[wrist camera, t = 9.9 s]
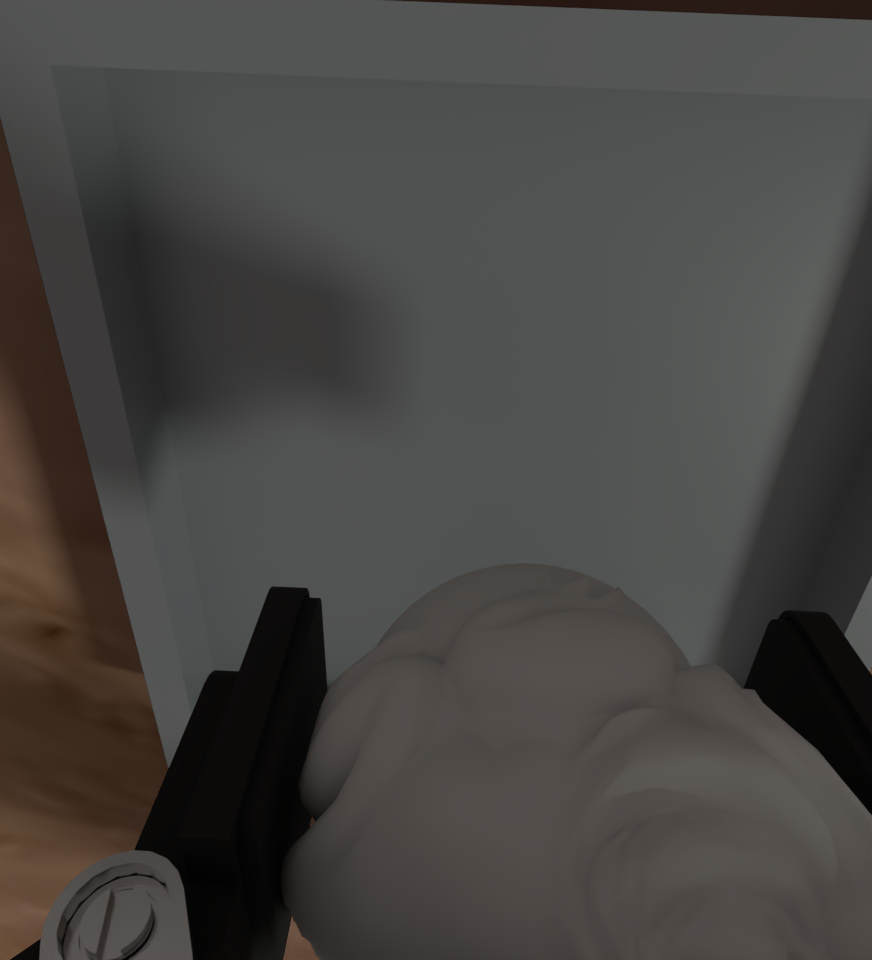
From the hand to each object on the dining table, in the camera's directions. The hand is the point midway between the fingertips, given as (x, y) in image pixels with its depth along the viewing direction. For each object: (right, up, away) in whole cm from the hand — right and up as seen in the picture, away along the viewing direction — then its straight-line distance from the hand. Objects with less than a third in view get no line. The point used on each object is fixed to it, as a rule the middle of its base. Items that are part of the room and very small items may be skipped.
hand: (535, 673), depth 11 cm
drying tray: (0, +4, +6) cm, 7 cm away
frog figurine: (0, +1, +1) cm, 1 cm away
